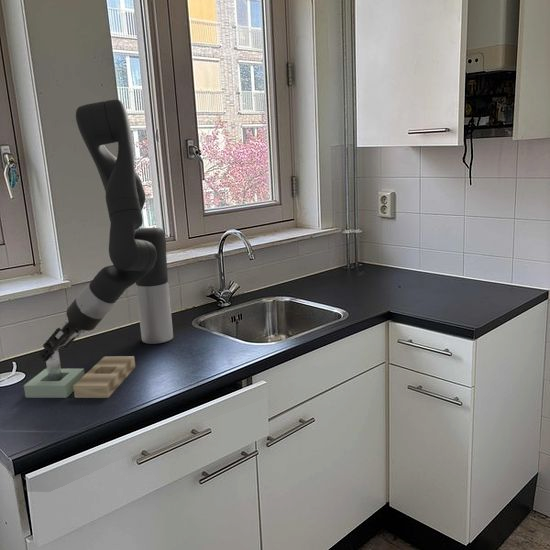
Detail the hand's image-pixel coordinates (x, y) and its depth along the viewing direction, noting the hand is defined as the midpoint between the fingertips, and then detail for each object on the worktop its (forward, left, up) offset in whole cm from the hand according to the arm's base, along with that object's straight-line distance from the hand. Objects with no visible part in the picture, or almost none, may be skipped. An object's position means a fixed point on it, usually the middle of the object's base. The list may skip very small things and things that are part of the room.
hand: (53, 351), depth 132 cm
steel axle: (0, 0, -9) cm, 9 cm away
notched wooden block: (-4, +11, -9) cm, 15 cm away
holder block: (0, 0, -9) cm, 9 cm away
